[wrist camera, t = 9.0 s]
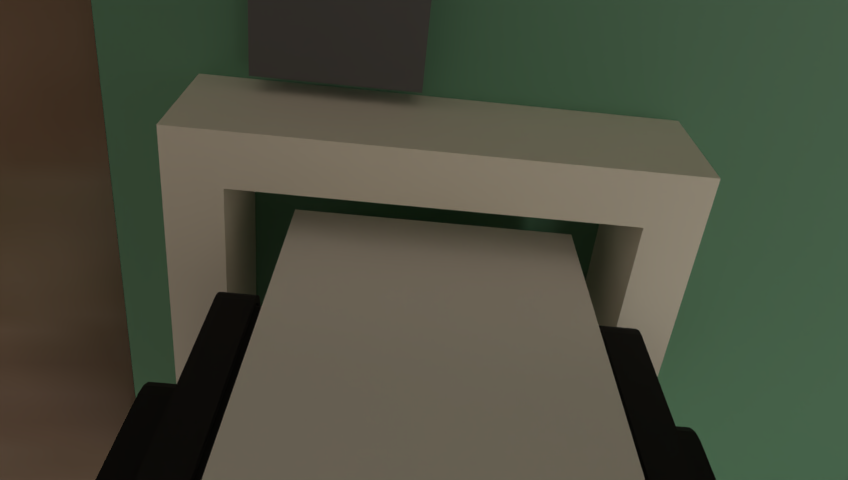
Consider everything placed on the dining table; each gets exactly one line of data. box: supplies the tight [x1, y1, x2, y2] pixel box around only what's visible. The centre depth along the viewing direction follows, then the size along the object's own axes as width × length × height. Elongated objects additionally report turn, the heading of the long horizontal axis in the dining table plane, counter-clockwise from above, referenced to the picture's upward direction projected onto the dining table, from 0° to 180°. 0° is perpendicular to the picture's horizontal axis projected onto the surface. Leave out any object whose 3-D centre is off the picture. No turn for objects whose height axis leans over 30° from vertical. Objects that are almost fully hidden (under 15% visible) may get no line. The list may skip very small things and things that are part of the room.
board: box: [91, 0, 848, 480], centre depth 11 cm, size 20×16×3 cm
